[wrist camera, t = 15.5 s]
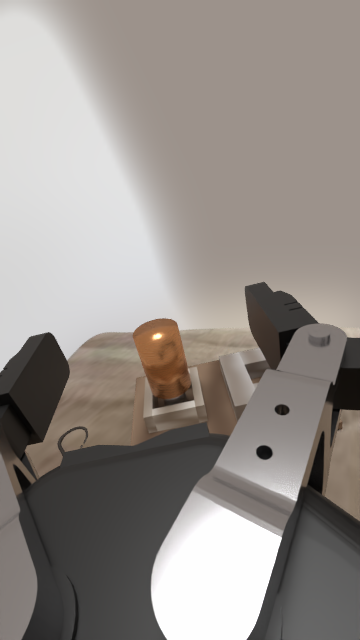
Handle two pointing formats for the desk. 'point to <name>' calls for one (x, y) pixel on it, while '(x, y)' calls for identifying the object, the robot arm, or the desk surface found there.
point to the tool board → (202, 397)
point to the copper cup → (163, 360)
